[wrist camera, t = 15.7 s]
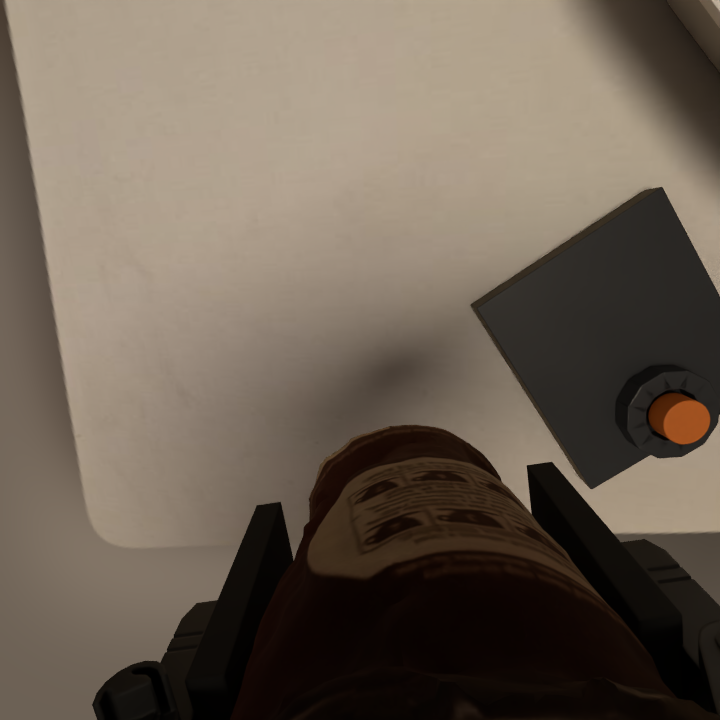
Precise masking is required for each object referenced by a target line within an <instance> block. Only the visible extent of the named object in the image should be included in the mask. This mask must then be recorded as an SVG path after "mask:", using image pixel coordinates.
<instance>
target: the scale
mask: <svg viewBox="0 0 720 720" xmlns="http://www.w3.org/2000/svg"><path fill="white" fill-rule="evenodd" d="M471 307H472V308H473V310H474V312H475V313H476V315H477V316H478V318H479V319H480V321H481V323H482V324H483V326H484V327H485V329H486V330H487V332H488V334H489V335H490V337H491V338H492V340H493V341H494V343H495V345H496V346H497V348H498V349H499V351H500V353H501V354H502V356H503V357H504V359H505V360H506V362H507V364H508V365H509V367H510V368H511V370H512V371H513V373H514V375H515V376H516V378H517V379H518V381H519V383H520V384H521V386H522V387H523V389H524V390H525V392H526V394H527V395H528V397H529V398H530V400H531V401H532V403H533V405H534V406H535V408H536V409H537V411H538V412H539V414H540V416H541V417H542V419H543V420H544V422H545V424H546V425H547V427H548V428H549V430H550V431H551V433H552V435H553V436H554V438H555V439H556V441H557V442H558V444H559V446H560V447H561V449H562V450H563V452H564V453H565V455H566V457H567V458H568V460H569V461H570V463H571V465H572V466H573V468H574V469H575V471H576V472H577V474H578V476H579V477H580V478H581V479H582V480H583V481H584V483H585V484H586V485H587V486H588V487H589V488H590V489H593V488H595V487H597V486H598V485H600V484H602V483H603V482H605V481H607V480H609V479H610V478H612V477H614V476H615V475H617V474H619V473H620V472H622V471H624V470H626V469H627V468H629V467H631V466H632V465H634V464H636V463H638V462H639V461H641V460H643V459H644V458H646V457H648V456H649V455H653V456H655V457H657V458H670V457H682V456H684V455H686V454H688V453H689V452H691V451H693V450H694V449H696V448H698V447H700V446H701V445H703V443H705V442H706V440H707V439H708V437H709V436H710V434H711V433H712V431H713V430H714V428H715V427H716V426H717V423H718V418H719V414H720V296H719V294H718V292H717V290H716V288H715V286H714V284H713V283H712V281H711V279H710V277H709V275H708V273H707V271H706V269H705V267H704V265H703V264H702V262H701V260H700V258H699V256H698V254H697V252H696V250H695V248H694V246H693V245H692V243H691V241H690V239H689V237H688V235H687V233H686V231H685V229H684V228H683V226H682V224H681V222H680V220H679V218H678V216H677V214H676V212H675V210H674V209H673V207H672V205H671V203H670V201H669V199H668V197H667V195H666V193H665V191H664V190H663V188H662V187H659V188H653V189H648V190H644V191H643V192H641V193H640V194H638V195H637V196H635V197H634V198H632V199H631V200H629V201H628V202H626V203H625V204H623V205H622V206H620V207H619V208H617V209H615V210H614V211H612V212H611V213H609V214H608V215H606V216H605V217H603V218H602V219H600V220H599V221H597V222H596V223H594V224H593V225H591V226H590V227H588V228H587V229H585V230H584V231H582V232H581V233H579V234H578V235H576V236H574V237H573V238H571V239H570V240H568V241H567V242H565V243H564V244H562V245H561V246H559V247H558V248H556V249H555V250H553V251H552V252H550V253H549V254H547V255H546V256H544V257H543V258H541V259H540V260H538V261H536V262H535V263H533V264H532V265H530V266H529V267H527V268H526V269H524V270H523V271H521V272H520V273H518V274H517V275H515V276H514V277H512V278H511V279H509V280H508V281H506V282H505V283H503V284H502V285H500V286H499V287H497V288H495V289H494V290H492V291H491V292H489V293H488V294H486V295H485V296H483V297H482V298H480V299H479V300H477V301H476V302H474V303H473V304H471ZM667 393H680V394H683V395H685V396H687V397H689V398H691V399H694V400H696V401H698V402H700V403H702V404H703V405H704V406H705V407H706V408H707V410H708V412H709V415H710V425H709V428H708V430H707V432H706V433H705V434H704V435H703V436H702V437H701V438H700V439H699V440H697V441H695V442H693V443H690V444H678V443H675V442H672V441H671V440H669V439H668V438H666V437H664V436H663V435H661V434H660V433H658V432H656V431H655V430H654V429H653V428H652V427H651V425H650V422H649V418H648V414H649V410H650V407H651V405H652V404H653V402H654V401H655V400H656V399H657V398H659V397H660V396H662V395H664V394H667Z"/></svg>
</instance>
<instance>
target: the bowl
mask: <svg viewBox="0 0 720 720" xmlns="http://www.w3.org/2000/svg"><path fill="white" fill-rule="evenodd" d="M667 3H668V4H669V6H670V7H671V8H672V10H673V11H674V12H675V14H676V15H677V17H678V18H679V19H680V21H681V22H682V23H683V25H684V26H685V27H686V29H687V30H688V31H689V33H690V34H691V35H692V37H693V38H694V39H695V41H696V42H697V43H698V45H699V46H700V47H701V49H702V50H703V51H704V53H705V54H706V55H707V57H708V58H709V59H710V60H711V62H712V63H713V64H714V66H715V67H716V68H717V69H718V71H719V72H720V0H667Z"/></svg>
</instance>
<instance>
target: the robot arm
mask: <svg viewBox="0 0 720 720" xmlns="http://www.w3.org/2000/svg"><path fill="white" fill-rule="evenodd" d="M527 472H528V482H529V492H530V501H531V511H532V516H533V517H534V519H535V520H536V521H537V523H538V524H539V525H540V526H541V528H542V529H543V530H544V531H545V532H547V533H548V534H549V535H550V536H551V537H552V538H553V539H554V540H555V541H556V542H557V543H558V544H559V545H560V546H561V547H562V548H563V549H564V550H565V551H566V552H567V554H568V555H569V557H570V559H571V560H572V562H573V563H574V564H575V566H576V567H577V568H578V569H579V571H580V572H581V573H582V574H583V576H584V577H585V578H586V579H587V581H588V582H589V583H590V584H591V586H592V587H593V588H594V589H595V590H596V591H597V592H598V594H599V595H600V596H601V597H602V598H603V599H604V601H605V602H606V603H607V604H608V605H609V606H610V607H611V608H612V609H613V610H614V611H615V612H616V613H617V614H618V615H619V616H620V617H621V618H622V619H623V621H624V622H625V623H626V624H627V626H628V627H629V628H630V629H631V631H632V632H633V633H634V634H635V636H636V637H637V638H638V639H639V641H640V642H641V643H642V645H643V646H644V647H645V648H646V650H647V651H648V652H649V654H650V655H651V656H652V658H653V661H654V663H655V665H656V668H657V670H658V672H659V675H660V677H661V679H662V681H663V683H664V684H665V685H666V686H667V687H668V688H669V689H670V690H671V691H672V692H673V694H674V695H675V696H676V697H677V698H678V699H684V700H691V701H694V702H695V703H696V704H698V705H699V706H700V707H702V708H703V709H704V710H706V711H707V712H711V713H714V714H717V715H718V716H719V717H720V606H719V605H718V604H717V603H716V602H715V601H714V600H713V599H712V598H711V597H710V595H709V594H708V593H707V592H706V591H705V590H703V588H702V587H701V586H700V585H699V584H698V583H697V582H696V581H695V580H693V579H691V576H690V575H689V574H688V573H687V572H686V571H685V570H684V569H683V568H681V567H680V566H679V564H678V563H677V562H676V561H675V560H674V559H673V558H672V557H671V556H670V555H669V554H668V553H667V551H665V550H664V549H662V548H660V547H658V546H657V545H655V544H653V543H651V542H649V541H647V540H645V539H642V540H635V541H628V542H620V541H619V540H618V539H617V538H616V536H615V535H614V534H613V533H612V532H611V531H610V529H609V528H608V527H607V526H606V525H605V524H604V522H603V521H602V520H601V519H600V518H599V516H598V515H597V514H596V513H595V512H594V511H593V509H592V508H591V507H590V506H589V505H588V504H587V502H586V501H585V500H584V499H583V498H582V497H581V495H580V494H579V493H578V492H577V491H576V490H575V488H574V487H573V486H572V485H571V484H570V482H569V481H568V480H567V479H566V478H565V477H564V475H563V474H562V473H561V472H560V471H559V470H558V468H557V467H556V466H555V465H554V464H553V463H552V462H547V463H541V464H534V465H527ZM292 562H294V561H293V556H292V551H291V547H290V542H289V538H288V533H287V528H286V524H285V519H284V515H283V510H282V505H281V502H277V503H270V504H264V505H257V506H256V509H255V511H254V514H253V516H252V519H251V521H250V523H249V526H248V528H247V531H246V533H245V535H244V538H243V540H242V543H241V545H240V548H239V550H238V552H237V555H236V557H235V560H234V562H233V565H232V567H231V569H230V572H229V574H228V577H227V579H226V582H225V584H224V586H223V589H222V591H221V594H220V596H219V598H218V600H217V601H209V602H202V603H196V605H195V606H194V607H193V608H192V609H191V610H190V611H189V612H188V613H187V614H186V615H185V616H184V617H183V618H182V620H181V621H180V624H179V626H178V628H177V630H176V632H175V634H174V638H173V639H172V640H171V642H170V644H169V646H168V648H167V652H166V653H165V654H164V656H163V658H162V661H161V663H159V662H157V661H143V662H140V663H136V664H133V665H130V666H129V667H127V668H125V669H123V670H121V671H119V672H118V673H116V674H115V675H114V676H113V677H111V678H110V679H109V680H108V681H106V682H105V684H104V685H103V686H102V687H101V689H100V690H99V691H98V692H97V694H96V697H95V699H94V702H93V704H92V705H93V708H94V711H95V714H96V717H97V720H230V718H231V715H232V712H233V709H234V706H235V704H236V701H237V698H238V695H239V692H240V689H241V686H242V681H243V677H244V673H245V670H246V666H247V663H248V660H249V658H250V655H251V653H252V650H253V646H254V641H255V637H256V634H257V631H258V628H259V624H260V621H261V619H262V617H263V615H264V613H265V611H266V609H267V607H268V605H269V603H270V601H271V599H272V596H273V594H274V592H275V590H276V587H277V585H278V583H279V581H280V579H281V577H282V576H283V574H284V573H285V572H286V570H287V569H288V567H289V566H290V565H291V564H292Z"/></svg>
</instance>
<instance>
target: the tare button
mask: <svg viewBox="0 0 720 720" xmlns="http://www.w3.org/2000/svg"><path fill="white" fill-rule="evenodd" d="M648 418H649V422H650V425H651V427H652V428H653V429H654V430H655V431H656V432H658V433H660V434H661V435H663V436H664V437H666V438H668V439H669V440H671V441H672V442H675V443H678V444H690V443H693V442H695V441H697V440H699V439H700V438H701V437H702V436H703V435H704V434H705V433H706V432H707V430H708V428H709V425H710V415H709V412H708V410H707V408H706V407H705V406H704V405H703V404H702V403H700V402H698V401H696V400H694V399H691V398H689V397H687V396H685V395H683V394H680V393H667V394H664V395H662V396H660V397H659V398H657V399H656V400H655V401H654V402H653V404H652V405H651V407H650V410H649V414H648Z"/></svg>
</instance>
